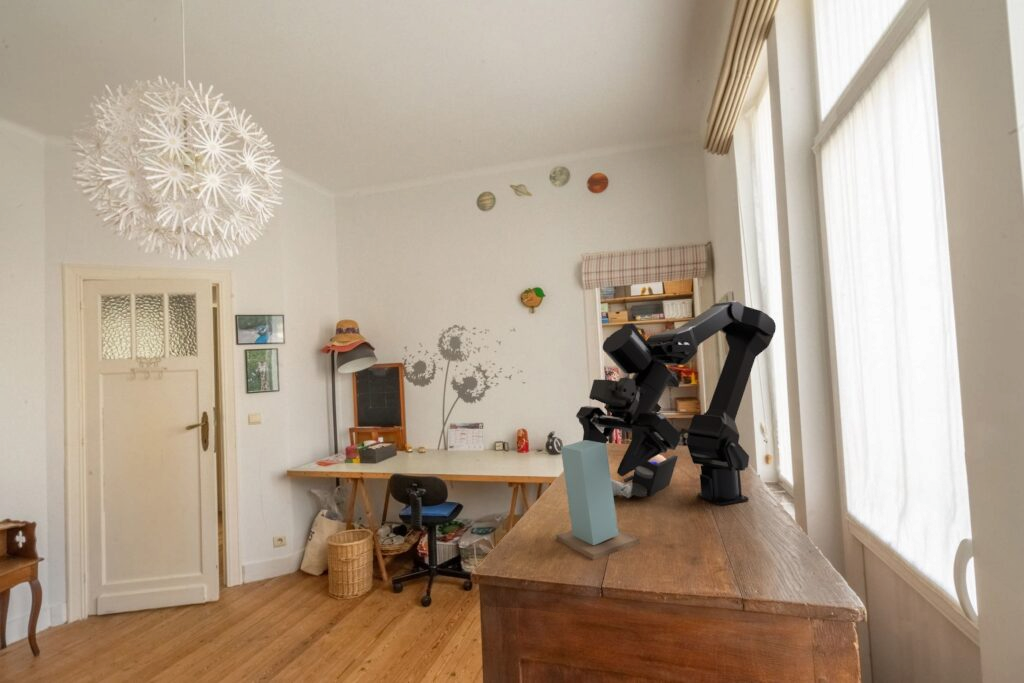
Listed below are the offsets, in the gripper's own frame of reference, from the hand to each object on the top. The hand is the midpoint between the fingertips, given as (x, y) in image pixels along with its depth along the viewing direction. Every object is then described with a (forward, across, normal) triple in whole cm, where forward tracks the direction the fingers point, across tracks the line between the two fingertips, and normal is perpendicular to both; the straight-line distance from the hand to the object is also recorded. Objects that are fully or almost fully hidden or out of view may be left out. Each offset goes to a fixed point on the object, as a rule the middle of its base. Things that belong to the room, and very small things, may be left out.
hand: (598, 469), depth 70 cm
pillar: (+8, 0, +6) cm, 10 cm away
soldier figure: (-3, -15, +19) cm, 25 cm away
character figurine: (-8, -12, +24) cm, 28 cm away
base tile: (+9, 0, +7) cm, 12 cm away
